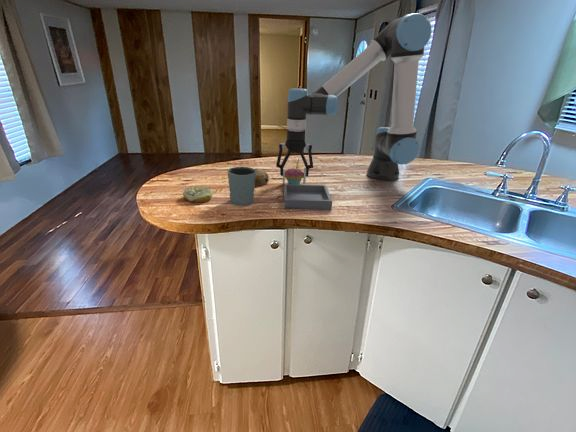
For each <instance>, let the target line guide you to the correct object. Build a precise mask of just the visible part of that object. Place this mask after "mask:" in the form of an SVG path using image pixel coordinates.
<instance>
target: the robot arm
mask: <svg viewBox="0 0 576 432" xmlns="http://www.w3.org/2000/svg"><path fill="white" fill-rule="evenodd" d="M431 36H432V25H431V22H430V19H428V17H427V16H425V15H424V14H422V13H417V12H416V13H408V14H405V15H404V16H402V17H399V18H396V19H394V20H392V21H390V23H388V24H387V25H386V26H385V27H384V28H383V29H382V30H381V31H380V32H379V33H378V34H377V35H376V36H375V37H374V38H373V39H371V40H370V44H369V45H368V46H367V47H365V49H363V51H361V52H360V53H359V54H358V55H357V56H355V57H354V58H353V59H352V60H351V61H349V62H348V63H347V64H346V65H344V67H343V68H341V69H340V70H339V71H337V73H336V74H334V75H332V77H331V78H329V80H327V81H326V82H325V83H323V85H321V87H319V88H318V89H317V90H315V91H313V92H311V93H309V91H308V89H306V88H298V87H297V88H295V87H294V88H290V89H288V93H287V94H288V95H287V117H286V118H287V119H286V128H287V130H286V140H285V142H283V143H281V142H280V143H278V149H279V150H278V155H277V160H276V168H279V169H280V171H279V172H280V176H281V177H282V184H283V185H284V184H286V181H285V180H286V178H285V171H286V167H285V166H286V163H287V161H288V160H289V157H290V155H291V154H300V157H301V159H302V160H301V161H302V162H303V164H304V167H303V173H304V177H303V178H302V181H303V182H302V184H304V185H306V178H307V177H309V173H310V172H309V171H310V169H313V168H314V162H313V155H312V149H313V144H312V143H306V128H307V127H306V126H307V116H308V115H309V116H310V115H312V116H314V115H315V116H336V114H337V112H338V109H339V99H338V97H339V96H340V95H341V94H342V93H344V92H345V91H346V90H347V89H348V88H349V87H350V86H352V85H353V84H355V82H357V81H358V80H360V79H361V78H362V77H363V76H364V75H365V74H367V72H369V71H370V70H371V69H372V68H374V67H375V66H376V65H378V64H379V62H384V61H386V60H388V58H390V59H391V61H392V62H393V64H394V69H393V84H392V85H393V86H392V101H391V102H392V103H391V105H392V106H391V122H390V127H389V126H386V127H384V126H381V127H380V126H379V127H378V128H377V130H376V134H375V140H374V147H373V152H372V153H373V155H372V158H371V160H370V161H371V162H370V163H369V166H368V168H367V170H366V175H367V176H368V177H369V178H371V179H375V180H379V181H380V180H381V181H395V180H398V179H399V178H400V168H399V165H401V166H402V165H407V164H411V163H413V161H414V160H416V158H417V157H418V156H419V153H420V151H421V146H420V143H419V141H418V140H417V128H416V127H415V126H414V121H415V119H414V117H415V110H416V109H415V108H416V96H417V95H416V94H417V85H418V72H419V62H420V60H421V59H422V58H423V56H424V53H425V47H426V45H428V43H429V41H430V40H431V39H430V38H431ZM285 147H286V148H287V151H286V154H285V155H284V158H283V160H282V162H281V158H282V154H283V149H285ZM305 147H306V150H307V153H308V154H307V155H308V160H309V164H308V162H307V159H306V157H305V154H304V152H303V150H304V149H305Z"/></svg>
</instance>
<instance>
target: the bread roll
mask: <svg viewBox="0 0 576 432" xmlns="http://www.w3.org/2000/svg"><path fill="white" fill-rule="evenodd" d="M254 169H255V170H256V176H255V183H254V184H255V186H260V187H261V186H265V185H268V183H269V175H268V173H267V171H266V170H264V169H263V168H254Z"/></svg>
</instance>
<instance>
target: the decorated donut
mask: <svg viewBox="0 0 576 432" xmlns="http://www.w3.org/2000/svg"><path fill="white" fill-rule="evenodd" d="M182 196H183V198H184V199H185V200H186V201H187V202H190V203H194V204H201V203H202V204H203V203H207V202H209V201H210V200H211V199H212V197H213V190H212V189H211V188H209V187H206V186H202V185H201V186H199V185H197V186H196V185H195V186H190V187H188V188H185V189H184V190H183V192H182Z"/></svg>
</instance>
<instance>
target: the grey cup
mask: <svg viewBox="0 0 576 432" xmlns="http://www.w3.org/2000/svg"><path fill="white" fill-rule="evenodd" d="M255 169H256V168H252V167H249V166H232V167H230V168H228V169H227V178H228V189H229V199H230V203H231V204H232V205H234V206H241V207H242V206H244V207H245V206H249V205H252V204H253V203H254V197H255V186H256V185H255V184H254V183H255V176H256V170H255Z"/></svg>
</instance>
